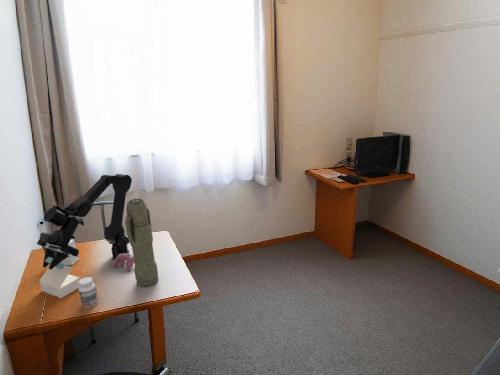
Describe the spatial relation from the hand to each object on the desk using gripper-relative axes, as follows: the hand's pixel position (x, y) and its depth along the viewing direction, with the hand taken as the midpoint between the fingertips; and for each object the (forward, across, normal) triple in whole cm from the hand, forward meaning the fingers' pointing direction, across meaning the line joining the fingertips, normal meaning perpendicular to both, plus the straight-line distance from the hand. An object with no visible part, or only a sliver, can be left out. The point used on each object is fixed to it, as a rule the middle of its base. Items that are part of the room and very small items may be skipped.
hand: (46, 268), depth 136 cm
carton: (+5, 0, +11) cm, 12 cm away
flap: (+1, 0, +5) cm, 5 cm away
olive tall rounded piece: (-8, +29, +24) cm, 38 cm away
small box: (-5, -18, +22) cm, 29 cm away
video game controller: (-11, +10, +28) cm, 31 cm away
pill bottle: (+7, +20, +9) cm, 23 cm away
